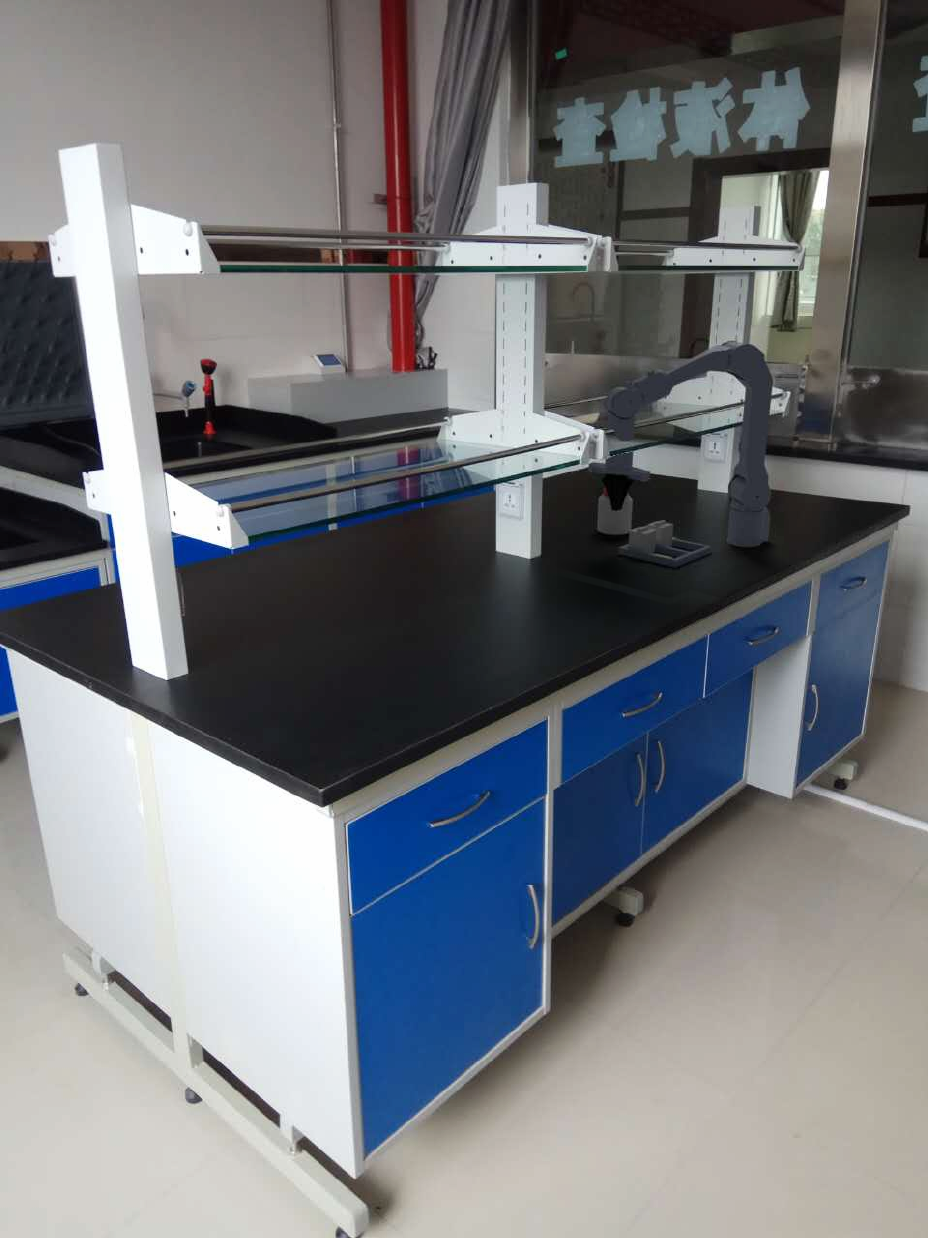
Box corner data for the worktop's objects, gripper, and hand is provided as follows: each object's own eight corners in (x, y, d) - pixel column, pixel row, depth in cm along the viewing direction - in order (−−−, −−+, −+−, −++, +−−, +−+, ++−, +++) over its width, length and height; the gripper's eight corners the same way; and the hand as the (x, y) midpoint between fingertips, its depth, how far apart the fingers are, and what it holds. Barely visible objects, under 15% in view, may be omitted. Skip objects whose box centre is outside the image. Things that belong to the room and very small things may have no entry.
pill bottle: (630, 539, 211) (632, 492, 207) (596, 538, 213) (598, 491, 209) (631, 530, 218) (633, 484, 214) (598, 529, 220) (600, 483, 216)
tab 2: (655, 543, 205) (657, 518, 203) (671, 546, 202) (673, 521, 200) (645, 546, 202) (647, 521, 200) (661, 550, 199) (662, 525, 197)
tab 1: (639, 549, 200) (640, 524, 198) (654, 552, 198) (656, 527, 196) (628, 553, 198) (629, 527, 196) (644, 556, 195) (645, 531, 193)
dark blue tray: (638, 541, 210) (638, 529, 209) (712, 558, 197) (714, 545, 197) (600, 554, 201) (601, 542, 200) (676, 573, 188) (677, 560, 187)
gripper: (580, 444, 197) (578, 507, 201) (637, 453, 187) (633, 518, 192) (600, 440, 201) (597, 501, 206) (657, 448, 192) (653, 512, 197)
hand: (616, 509), depth 199 cm, fingers closed
